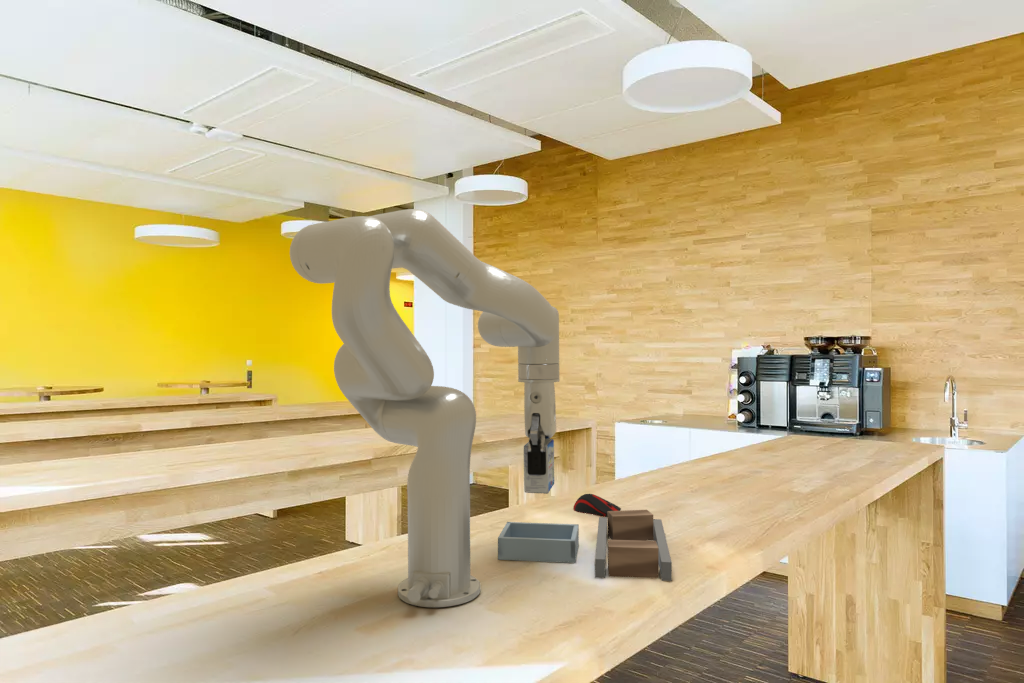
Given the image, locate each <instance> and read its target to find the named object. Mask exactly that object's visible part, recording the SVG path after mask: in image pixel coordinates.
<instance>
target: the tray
mask: <svg viewBox="0 0 1024 683" xmlns="http://www.w3.org/2000/svg"><path fill="white" fill-rule="evenodd" d="M579 527H580V526H579V524H576V523H552V522H550V523H548V522H522V521H521V522H520V521H507V522H506V523H505V524H504V526H503V528H502V530H501V532H500V534H499V535H498V537H497V560H499V561H500V560H504V561H522V562H526V561H527V562H545V563H546V562H547V563H548V562H549V563H564V564H565V563H569V564H570V563H571V564H574V563H575V564H576V563H577V555H578V551H579V545H580V542H579V539H580V537H579V535H580V534H579V532H580V531H579V530H580V528H579Z"/></svg>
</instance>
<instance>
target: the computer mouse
mask: <svg viewBox="0 0 1024 683" xmlns="http://www.w3.org/2000/svg"><path fill="white" fill-rule="evenodd" d="M572 510H573V511H574V512H576V513H581V514H585V513H586V514H585V515H587V514H588V515H592V514H593V515H594V516H597V517H601V516H603V517H607V511H622V508H621V507H620V506H618V505H616V504H614V503H612V502H611V501H609V500H607V499H605V498H602V497H600V496H599V495H596V494H593V493H585V494H582V495H580V496H579V497H578V498H577V499H576V501H575V502H574V505H573V508H572Z"/></svg>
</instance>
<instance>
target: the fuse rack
mask: <svg viewBox="0 0 1024 683" xmlns="http://www.w3.org/2000/svg"><path fill="white" fill-rule="evenodd" d="M653 532H654V540H653V541H656V543H657V545H658V558H659V574H660V575H659V576H660V579H661V581H663V582H672V581H673V578H672V576H673V574H672V573H673V569H672V568H673V566H672V565H673V564H672V563H673V562H672V558H671V555H670V550H669V549H670V548H669V546H668V541H667V537H666V534H665V530H664V525H663V520H662V519H661V518H656V519H654V518H653ZM596 535H597V536H596V544H595V545H596V546H595V556H594V578H599V579H603V578H606V568H607V567H606V564H607V562H606V561H607V547H608V521H607V517H601V516H598V524H597V534H596Z"/></svg>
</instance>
